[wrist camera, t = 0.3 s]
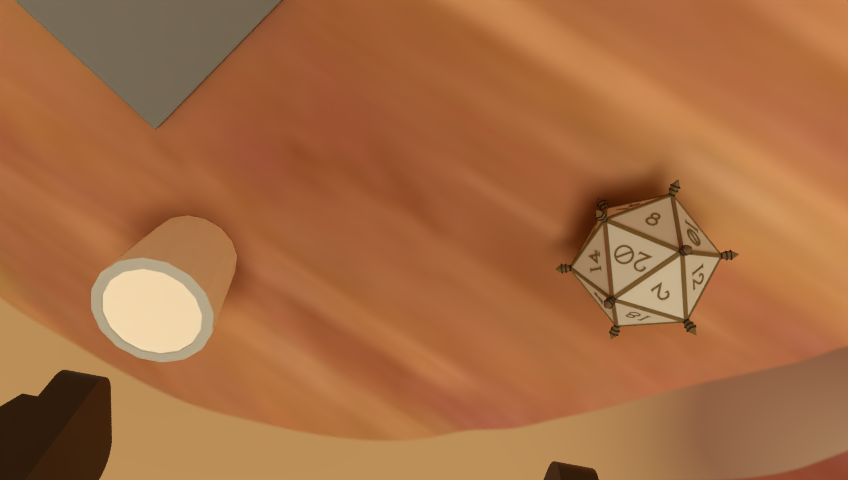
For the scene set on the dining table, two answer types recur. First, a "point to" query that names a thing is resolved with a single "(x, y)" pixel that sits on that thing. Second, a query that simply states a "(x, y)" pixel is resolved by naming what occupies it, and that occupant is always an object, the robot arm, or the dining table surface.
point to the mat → (150, 43)
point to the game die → (646, 262)
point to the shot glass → (166, 290)
